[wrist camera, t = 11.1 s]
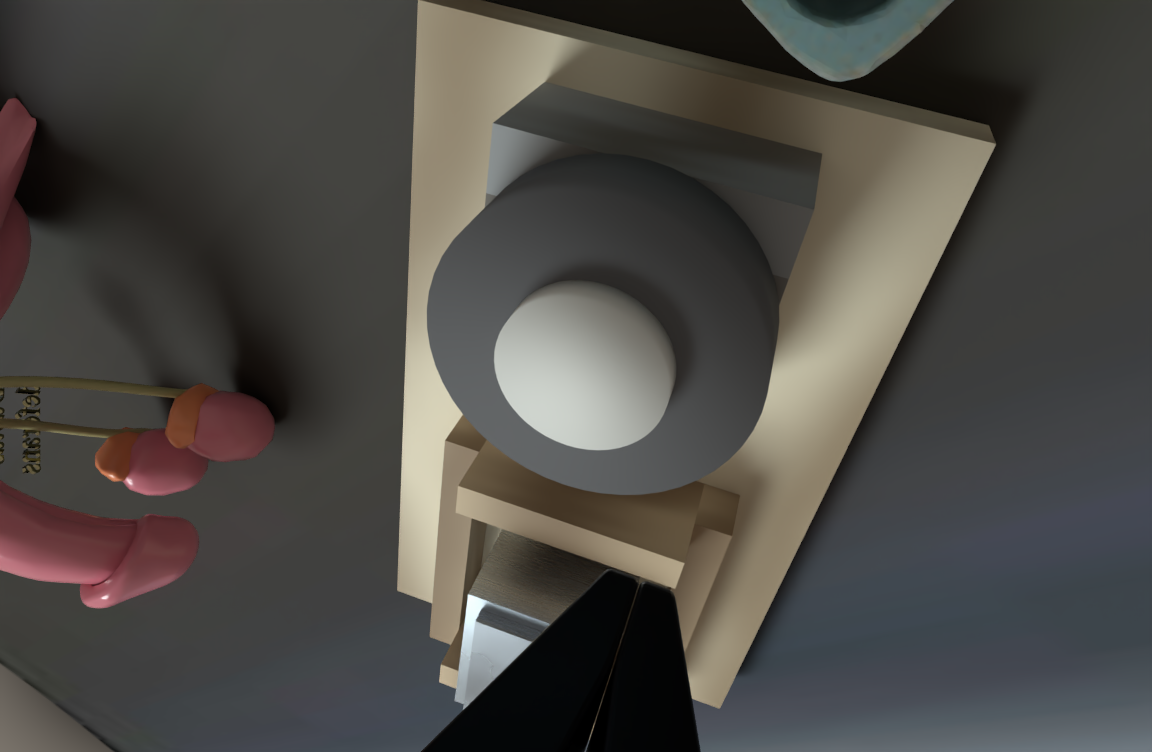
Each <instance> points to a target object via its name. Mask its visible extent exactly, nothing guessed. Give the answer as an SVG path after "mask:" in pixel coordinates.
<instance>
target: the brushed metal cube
mask: <svg viewBox="0 0 1152 752" xmlns="http://www.w3.org/2000/svg"><path fill="white" fill-rule="evenodd" d="M607 569H614V570H617V571H620V572H623V573H625V574H628V575H631V576H634V577H636V578H637V580H638V581H639V579H640V576H637V575H634V574H631V573H628V572H625V571H622V570H619V569H617V568H614V567H611V566H608V565H605V564H602V563H599V562H596V561H593V560H591V559H588V558H585V557H582V556H579V555H576V554H573V553H570V552H568V551H565V550H562V549H559V548H556V547H553V546H550V545H547V544H545V543H542V542H539V541H536V540H533V539H530V538H527V537H524V536H522V535H519V534H516V533H513V532H510V531H507V530H504V529H502V530H501V532H500V534H499V536H498V538H497V540H496V542H495V544H494V546H493V548H492V549H491V551H490V553H489V555H488V557H487V559H486V561H485V563H484V565H483V567H482V569H481V570H480V572H479V574H478V576H477V578H476V580H475V582H474V584H473V586H472V588H471V590H470V592H469V593H468V600H467V607H466V615H465V623H464V631H463V639H462V647H461V655H460V663H459V671H458V679H457V687H456V695H455V701H457V702H459V703H462V704H464V707H463V710H464V709H465V708H466V707H467V706H468V705H469V704H470V703H471V702H472V701H473V700H474V699H475V698H476V697H477V696H478V695H479V694H480V693H481V692H482V691H483V690H484V689H485V688H486V687H487V686H488V685H489V684H490V683H491V682H492V681H493V680H494V679H495V678H496V677H497V676H498V675H499V674H500V673H501V672H502V671H503V670H504V669H505V668H506V667H507V666H508V665H509V664H510V663H511V662H512V661H513V660H514V659H515V658H516V657H517V656H518V655H520V654H521V653H522V652H523V651H524V650H525V649H526V648H527V647H528V646H529V645H530V644H531V643H532V642H533V641H534V640H535V639H536V638H537V637H538V636H539V635H540V634H541V633H542V632H543V631H544V630H545V629H546V628H547V627H548V626H549V625H550V624H551V623H552V622H553V621H554V620H555V619H556V618H557V617H558V616H559V615H560V614H561V613H562V612H563V611H564V610H565V609H566V608H567V607H568V606H569V605H570V604H571V603H572V602H573V601H574V600H575V599H576V598H577V597H578V596H579V595H580V594H581V593H582V592H583V591H584V590H585V589H586V588H587V587H588V586H589V585H590V584H591V583H593V582H594V581H595V580H596V579H597V578H598V577H599V576H600V575H601V574H602V573H603V572H604V571H605V570H607Z"/></svg>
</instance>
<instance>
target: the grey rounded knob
mask: <svg viewBox="0 0 1152 752" xmlns="http://www.w3.org/2000/svg"><path fill="white" fill-rule="evenodd" d="M778 330H779V300H778V294H777V289H776V283H775V280H774V277H773V274H772V271H771V268H770V265H769V262H768V260H767V258H766V256H765V254H764V252H763V250H762V248H761V246H760V244H759V242H758V241H757V239H756V238H755V236H754V235H753V233H752V232H751V230H750V229H749V227H748V226H747V225H746V223H745V222H744V221H743V220H742V219H741V218H740V217H739V215H738V214H737V213H736V212H735V211H734V210H733V209H732V208H731V207H730V206H729V205H728V204H727V203H726V202H725V201H724V200H722V199H721V198H720V197H719V196H718V195H716V194H715V193H714V192H713V191H712V190H710V189H709V188H707V187H706V186H704V185H703V184H701V183H699V182H698V181H696V180H695V179H693V178H692V177H690V176H688V175H686V174H684V173H682V172H679V171H677V170H675V169H673V168H671V167H669V166H666V165H663V164H660V163H657V162H654V161H651V160H648V159H643V158H638V157H633V156H628V155H621V154H606V153H597V154H582V155H575V156H571V157H566V158H561V159H557V160H554V161H551V162H549V163H546V164H543V165H540V166H538V167H536V168H534V169H532V170H531V171H529V172H527V173H525V174H523V175H521V176H520V177H518V178H517V179H516V180H514V181H513V182H512V183H511V184H509V185H508V186H507V187H505V188H504V189H503V190H502V191H501V192H500V193H499V194H498V195H497V196H496V197H495V198H494V199H493V200H492V201H491V202H490V203H489V204H488V205H487V206H486V207H485V208H484V209H483V210H482V211H481V212H480V213H479V214H478V215H477V216H476V217H475V218H474V219H473V220H472V221H471V222H470V223H469V224H468V225H467V226H466V227H465V228H464V229H463V230H462V231H461V232H460V233H459V234H458V235H457V236H456V237H455V238H454V240H453V241H452V242H451V244H450V245H449V247H448V248H447V250H446V251H445V253H444V254H443V255H442V257H441V260H440V262H439V264H438V266H437V268H436V270H435V272H434V275H433V279H432V282H431V286H430V289H429V295H428V303H427V331H428V338H429V344H430V349H431V352H432V356H433V359H434V362H435V366H436V368H437V370H438V373H439V375H440V377H441V380H442V382H443V384H444V386H445V388H446V389H447V391H448V393H449V395H450V396H451V398H452V400H453V401H454V403H455V404H456V405H457V407H458V408H459V410H460V411H461V412H462V414H463V415H464V416H465V418H466V419H467V420H468V421H469V422H470V423H471V424H472V425H473V427H474V428H475V429H476V430H477V431H478V432H479V433H480V434H481V435H482V436H483V437H484V438H486V439H487V440H488V441H489V442H490V443H491V444H492V445H493V446H495V447H496V448H497V449H499V450H500V451H501V452H502V453H504V454H505V455H506V456H508V457H509V458H511V459H512V460H514V461H516V462H517V463H519V464H520V465H522V466H524V467H525V468H527V469H529V470H531V471H533V472H535V473H537V474H539V475H541V476H543V477H545V478H548V479H551V480H553V481H556V482H558V483H561V484H564V485H567V486H571V487H574V488H578V489H581V490H586V491H591V492H597V493H603V494H615V495H643V494H650V493H657V492H663V491H667V490H671V489H675V488H679V487H682V486H684V485H687V484H689V483H692V482H694V481H697V480H699V479H701V478H703V477H704V476H706V475H708V474H710V473H712V472H713V471H715V470H716V469H718V468H719V467H720V466H722V465H723V464H724V463H726V462H727V461H728V460H729V459H730V458H731V457H732V456H733V455H734V454H735V453H736V452H737V451H738V450H739V449H740V448H741V447H742V446H743V445H744V443H745V442H746V440H747V439H748V438H749V436H750V435H751V433H752V432H753V430H754V428H755V426H756V424H757V422H758V420H759V418H760V416H761V414H762V411H763V408H764V404H765V401H766V397H767V394H768V388H769V383H770V377H771V372H772V366H773V361H774V355H775V350H776V344H777V337H778Z"/></svg>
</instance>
